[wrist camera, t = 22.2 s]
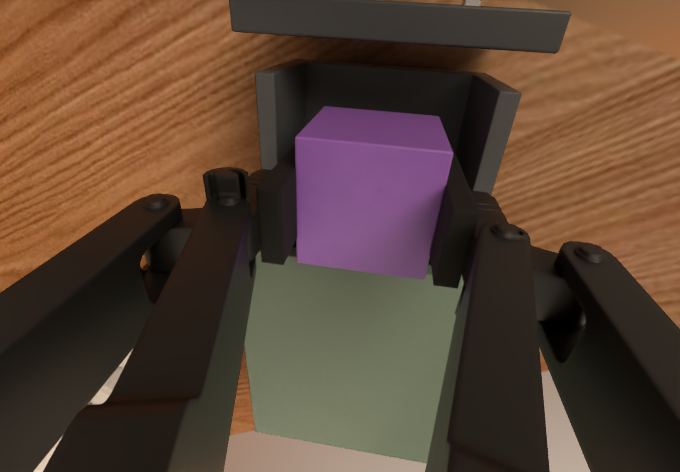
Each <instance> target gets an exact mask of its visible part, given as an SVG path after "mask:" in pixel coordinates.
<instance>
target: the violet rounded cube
mask: <svg viewBox="0 0 680 472" xmlns="http://www.w3.org/2000/svg"><path fill="white" fill-rule="evenodd" d="M452 158H453V151H452V148H451V146H450V143H449V140H448V138H447V135H446V133H445V130H444V128H443V125H442V123H441V120H440V118H439V116H432V115H421V114H409V113H398V112H387V111H375V110H364V109H353V108H341V107H330V106H324V107H323V108H322V109H321V110H320V111H319V113H318V114H317V115H316V116H315V117H314V118H313V119H312V120H311V121H310V122H309V123H308V124H307V125H306V126H305V127H304V128H303V129H302V130H301V131H300V133H299V134H298V135H297V136H296V137H295V169H296V215H297V238H296V253H297V262H298V263H302V264H310V265H317V266H325V267H332V268H339V269H347V270H354V271H362V272H369V273H376V274H384V275H391V276H399V277H406V278H413V279H421V280H424V279H425V276H426V272H427V268H428V263H429V259H430V252H431V248H432V243H433V239H434V235H435V230H436V226H437V221H438V217H439V213H440V208H441V204H442V199H443V195H444V191H445V186H446V184H447V180H448V176H449V171H450V167H451V163H452Z"/></svg>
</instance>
